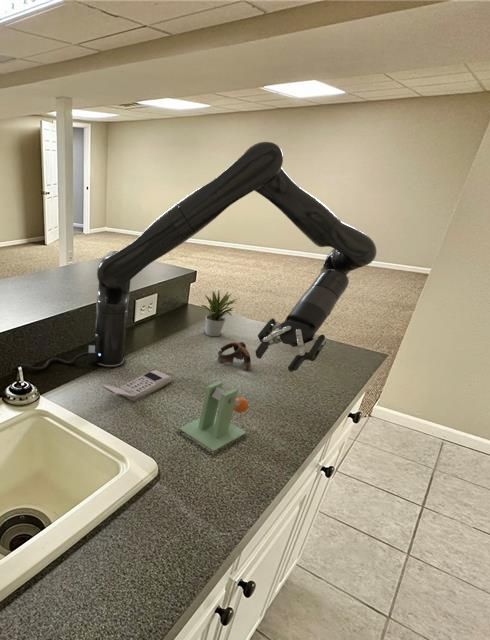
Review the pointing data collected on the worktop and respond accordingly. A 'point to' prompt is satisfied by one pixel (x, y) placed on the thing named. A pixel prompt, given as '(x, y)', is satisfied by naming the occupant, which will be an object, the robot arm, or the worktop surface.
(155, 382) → the mobile phone
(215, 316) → the house plant
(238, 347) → the brown curved piece
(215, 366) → the worktop surface
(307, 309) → the robot arm
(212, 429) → the power switch
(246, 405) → the switch lever
